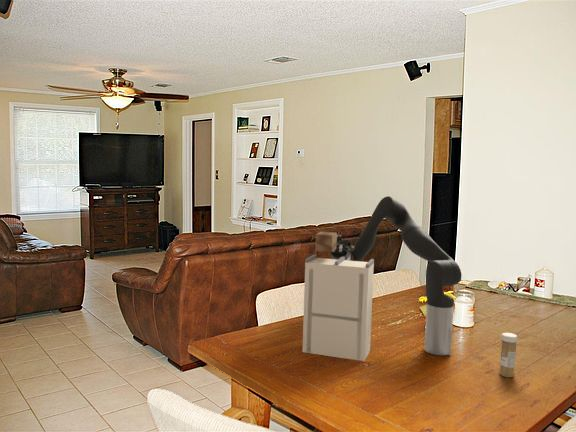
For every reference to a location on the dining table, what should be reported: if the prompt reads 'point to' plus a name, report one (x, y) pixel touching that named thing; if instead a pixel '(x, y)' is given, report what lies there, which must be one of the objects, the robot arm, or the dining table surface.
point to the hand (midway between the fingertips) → (333, 237)
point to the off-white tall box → (337, 307)
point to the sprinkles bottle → (508, 354)
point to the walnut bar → (326, 241)
